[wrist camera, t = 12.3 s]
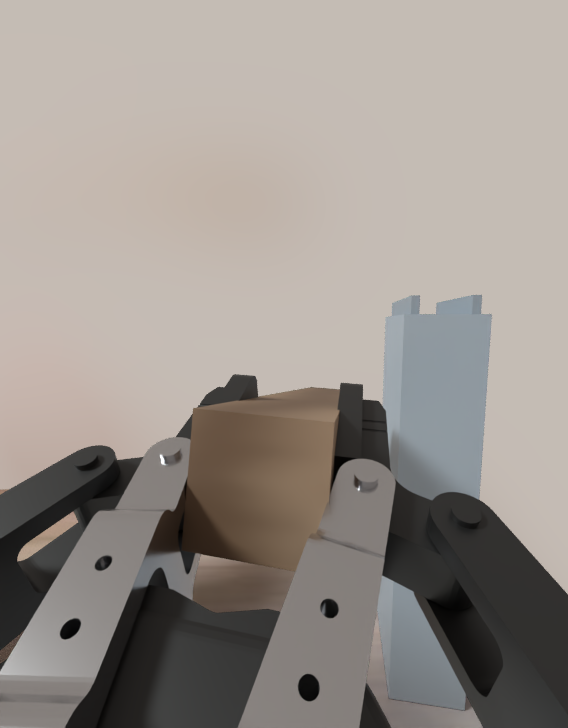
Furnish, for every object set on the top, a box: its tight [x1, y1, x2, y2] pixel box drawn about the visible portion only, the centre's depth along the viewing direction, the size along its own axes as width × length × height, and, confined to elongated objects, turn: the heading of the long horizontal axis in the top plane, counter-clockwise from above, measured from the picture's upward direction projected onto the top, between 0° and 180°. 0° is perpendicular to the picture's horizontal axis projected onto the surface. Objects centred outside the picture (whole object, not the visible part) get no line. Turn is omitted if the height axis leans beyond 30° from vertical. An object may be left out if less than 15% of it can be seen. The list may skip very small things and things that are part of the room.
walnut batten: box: [181, 387, 340, 571], centre depth 18 cm, size 3×22×3 cm, turn 169°
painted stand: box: [377, 295, 492, 711], centre depth 33 cm, size 6×11×33 cm, turn 171°
